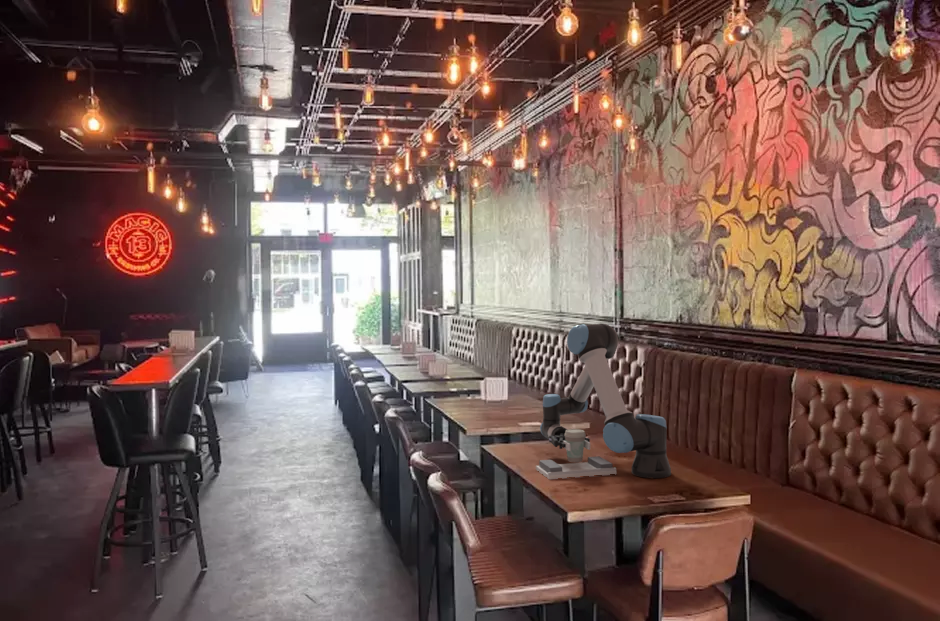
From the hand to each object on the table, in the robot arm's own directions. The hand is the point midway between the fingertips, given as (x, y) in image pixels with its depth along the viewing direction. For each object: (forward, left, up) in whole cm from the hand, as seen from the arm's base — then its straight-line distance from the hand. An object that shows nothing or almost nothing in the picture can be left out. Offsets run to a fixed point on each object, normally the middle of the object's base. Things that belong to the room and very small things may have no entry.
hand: (579, 446), depth 288 cm
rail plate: (+3, -3, -11) cm, 12 cm away
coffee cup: (+4, -4, -7) cm, 8 cm away
